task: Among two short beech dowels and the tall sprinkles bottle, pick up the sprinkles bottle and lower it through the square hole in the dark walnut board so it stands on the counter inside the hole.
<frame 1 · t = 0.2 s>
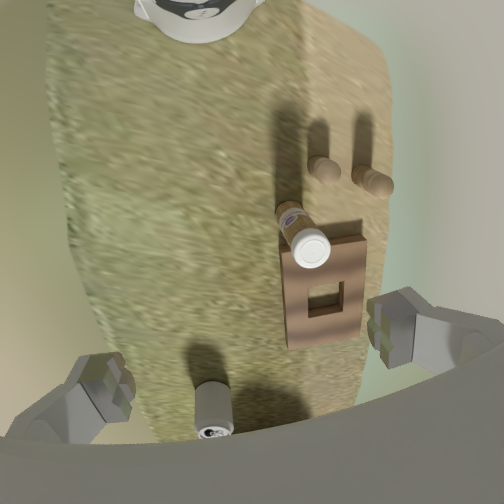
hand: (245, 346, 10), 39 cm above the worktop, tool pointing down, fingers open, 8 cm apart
medium beech dowel: (361, 175, 48), on the worktop
sprinkles bottle: (288, 214, 50), on the worktop
short beech dowel: (318, 166, 47), on the worktop
can: (212, 389, 64), on the worktop
walnut board: (322, 292, 56), on the worktop
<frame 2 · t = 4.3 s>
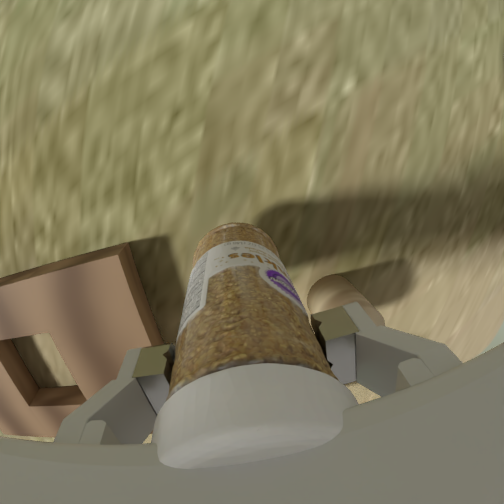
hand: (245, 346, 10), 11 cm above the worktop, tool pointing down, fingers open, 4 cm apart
sprinkles bottle: (234, 261, 17), point 3 cm above the worktop
short beech dowel: (330, 297, 22), on the worktop
walnut board: (48, 355, 21), on the worktop
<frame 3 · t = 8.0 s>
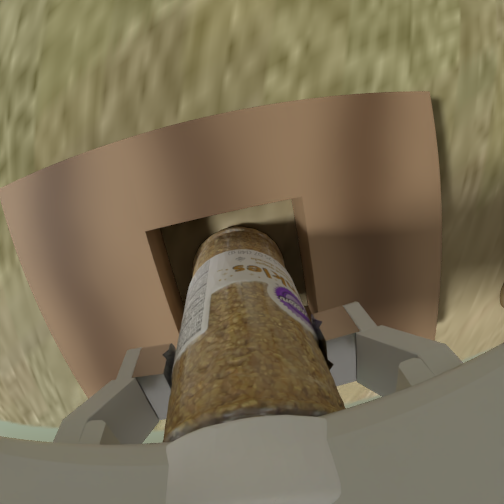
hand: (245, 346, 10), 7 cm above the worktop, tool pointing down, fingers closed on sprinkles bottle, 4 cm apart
sprinkles bottle: (237, 266, 16), resting in walnut board, touching gripper
walnut board: (236, 264, 16), on the worktop
when the fingers open (6 cm above the worktop, at t = 8.4 s): sprinkles bottle stays where it is, resting in walnut board.
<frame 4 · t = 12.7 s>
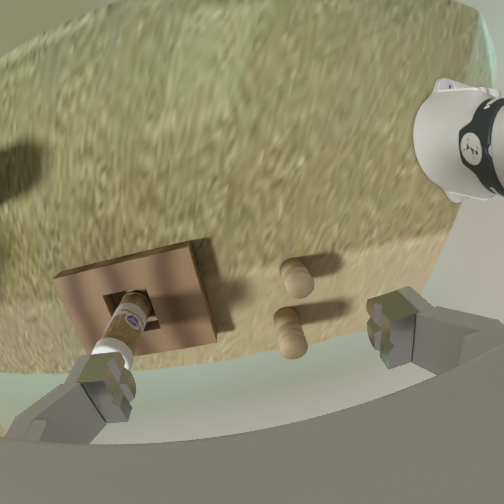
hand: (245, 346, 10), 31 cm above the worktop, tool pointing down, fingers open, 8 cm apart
medium beech dowel: (285, 317, 46), on the worktop
sprinkles bottle: (136, 304, 43), resting in walnut board
short beech dowel: (292, 270, 43), on the worktop
walnut board: (135, 303, 43), on the worktop
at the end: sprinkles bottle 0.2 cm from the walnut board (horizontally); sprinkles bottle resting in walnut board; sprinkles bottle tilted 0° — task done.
